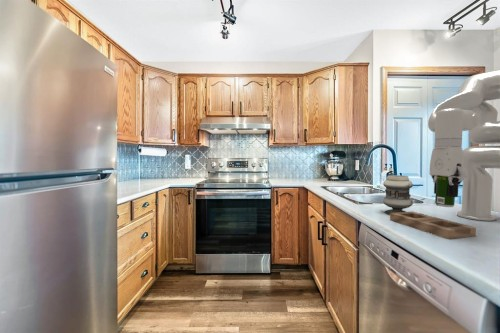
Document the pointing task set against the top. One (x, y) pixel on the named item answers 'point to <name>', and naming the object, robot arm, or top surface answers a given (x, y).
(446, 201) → the beer can
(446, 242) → the top surface
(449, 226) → the can rack
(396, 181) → the apothecary jar
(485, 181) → the robot arm
